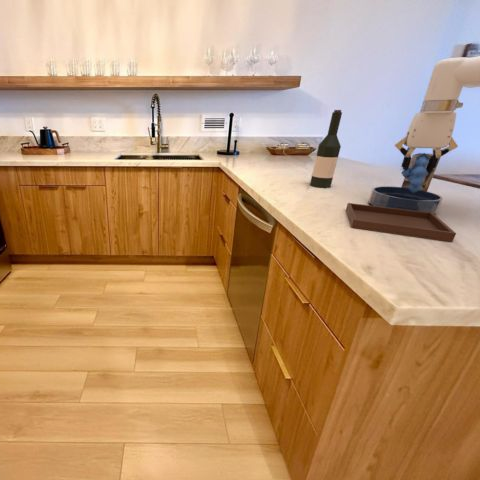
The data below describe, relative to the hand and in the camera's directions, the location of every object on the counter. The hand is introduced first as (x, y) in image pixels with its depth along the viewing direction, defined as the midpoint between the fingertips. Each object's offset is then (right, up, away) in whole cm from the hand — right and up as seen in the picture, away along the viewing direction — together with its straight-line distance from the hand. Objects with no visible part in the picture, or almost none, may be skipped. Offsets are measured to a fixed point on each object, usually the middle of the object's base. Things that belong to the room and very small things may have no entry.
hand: (416, 169), depth 91 cm
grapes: (0, -7, +3) cm, 7 cm away
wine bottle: (-12, +1, +33) cm, 35 cm away
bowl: (-1, -11, +6) cm, 13 cm away
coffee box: (+10, -8, +14) cm, 19 cm away
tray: (-15, -18, -8) cm, 25 cm away
